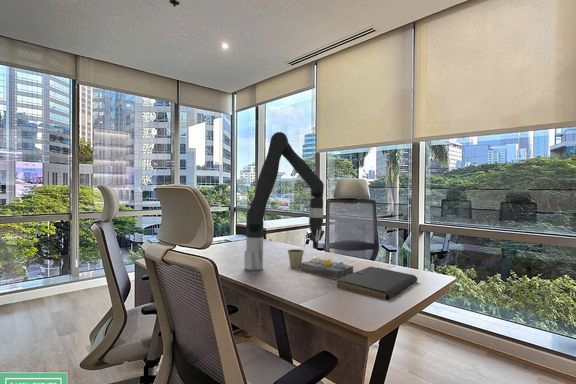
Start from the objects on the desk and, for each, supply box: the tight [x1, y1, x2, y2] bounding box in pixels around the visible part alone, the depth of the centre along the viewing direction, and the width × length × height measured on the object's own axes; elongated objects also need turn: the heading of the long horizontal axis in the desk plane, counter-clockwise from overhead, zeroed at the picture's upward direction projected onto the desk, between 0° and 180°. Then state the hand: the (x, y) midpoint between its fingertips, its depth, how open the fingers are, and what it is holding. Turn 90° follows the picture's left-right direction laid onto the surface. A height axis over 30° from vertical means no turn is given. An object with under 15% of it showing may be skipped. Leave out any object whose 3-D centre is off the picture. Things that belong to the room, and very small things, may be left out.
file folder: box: [336, 266, 418, 300], centre depth 138 cm, size 33×4×24 cm
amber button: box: [322, 258, 332, 266], centre depth 157 cm, size 4×4×5 cm
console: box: [300, 258, 354, 280], centre depth 157 cm, size 14×23×4 cm, turn 47°
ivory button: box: [311, 256, 320, 264], centre depth 162 cm, size 4×4×5 cm
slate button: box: [335, 260, 344, 269], centre depth 152 cm, size 4×4×5 cm
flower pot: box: [287, 248, 305, 268], centre depth 169 cm, size 9×9×9 cm
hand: (315, 248), depth 162 cm, fingers closed
